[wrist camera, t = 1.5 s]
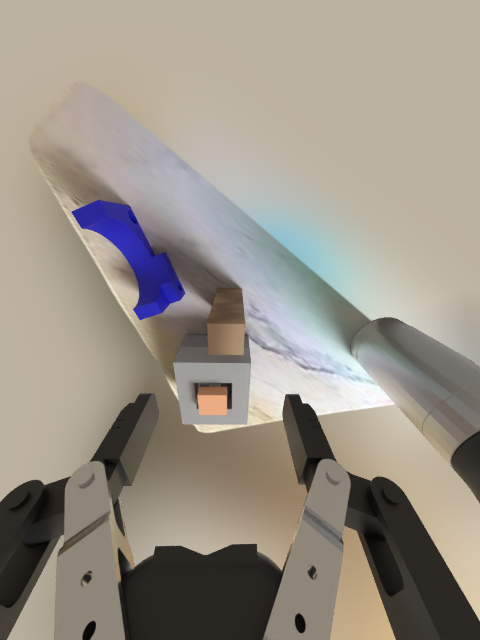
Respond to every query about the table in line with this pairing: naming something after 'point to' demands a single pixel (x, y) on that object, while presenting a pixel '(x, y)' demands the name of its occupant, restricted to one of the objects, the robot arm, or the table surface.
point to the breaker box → (211, 380)
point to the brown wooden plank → (226, 323)
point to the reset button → (212, 400)
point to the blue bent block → (134, 254)
